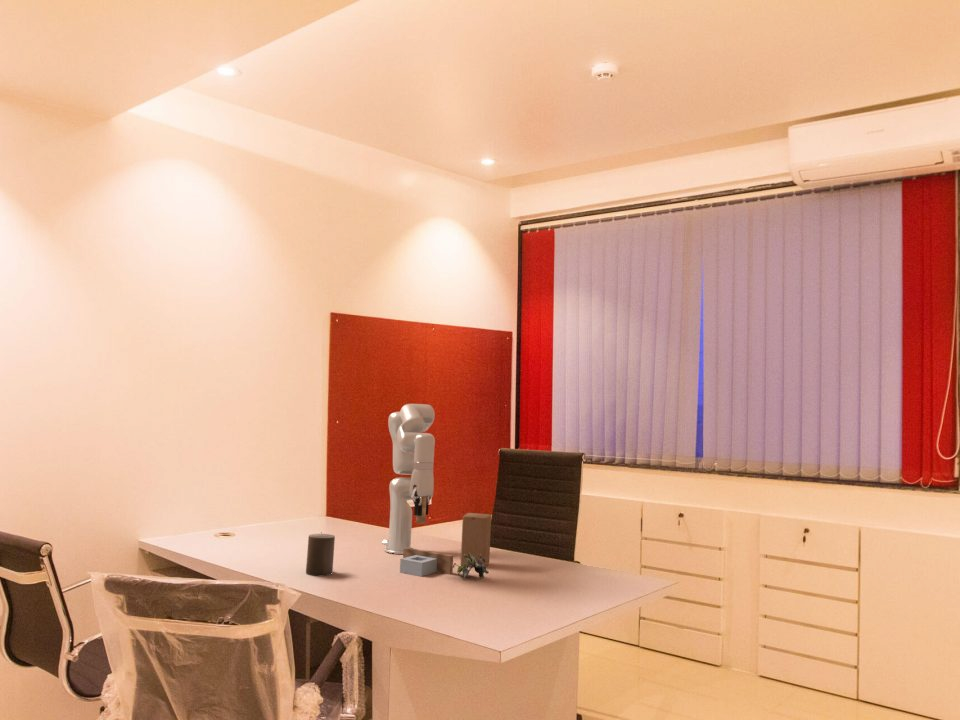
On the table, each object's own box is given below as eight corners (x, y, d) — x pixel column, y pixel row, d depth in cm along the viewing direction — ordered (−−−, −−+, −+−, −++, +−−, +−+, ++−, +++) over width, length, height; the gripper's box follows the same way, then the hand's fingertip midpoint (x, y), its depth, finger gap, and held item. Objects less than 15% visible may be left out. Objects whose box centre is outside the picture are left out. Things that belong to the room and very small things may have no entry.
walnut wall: (402, 566, 302) (403, 548, 302) (405, 565, 304) (406, 547, 304) (449, 574, 291) (450, 556, 291) (452, 574, 292) (453, 555, 293)
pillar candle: (316, 577, 277) (319, 535, 278) (300, 571, 284) (303, 531, 285) (337, 573, 285) (340, 533, 286) (322, 568, 291) (325, 529, 292)
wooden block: (484, 568, 305) (487, 517, 306) (460, 566, 307) (462, 515, 308) (489, 563, 315) (491, 514, 316) (465, 561, 317) (467, 512, 318)
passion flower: (479, 592, 288) (496, 569, 284) (457, 590, 281) (474, 567, 277) (467, 570, 296) (483, 547, 292) (445, 567, 289) (462, 544, 286)
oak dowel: (414, 523, 292) (415, 491, 293) (419, 522, 295) (421, 490, 296) (421, 524, 291) (423, 492, 291) (427, 523, 294) (428, 491, 294)
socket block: (399, 572, 290) (400, 558, 291) (415, 567, 299) (415, 555, 299) (421, 576, 285) (422, 562, 286) (436, 571, 294) (437, 558, 294)
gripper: (427, 464, 303) (425, 511, 302) (402, 466, 289) (400, 516, 288) (443, 466, 299) (441, 513, 298) (419, 468, 285) (416, 518, 284)
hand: (421, 514), depth 293 cm, fingers closed on oak dowel, 3 cm apart
